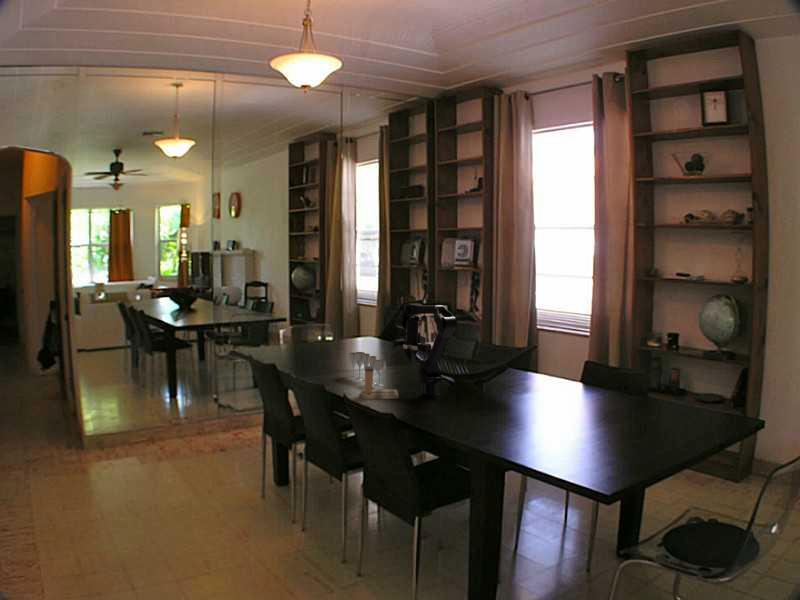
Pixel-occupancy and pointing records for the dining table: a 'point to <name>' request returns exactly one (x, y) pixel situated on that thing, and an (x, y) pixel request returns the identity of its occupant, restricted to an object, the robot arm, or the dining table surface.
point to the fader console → (380, 394)
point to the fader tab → (368, 379)
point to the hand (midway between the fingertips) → (411, 363)
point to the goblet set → (366, 359)
